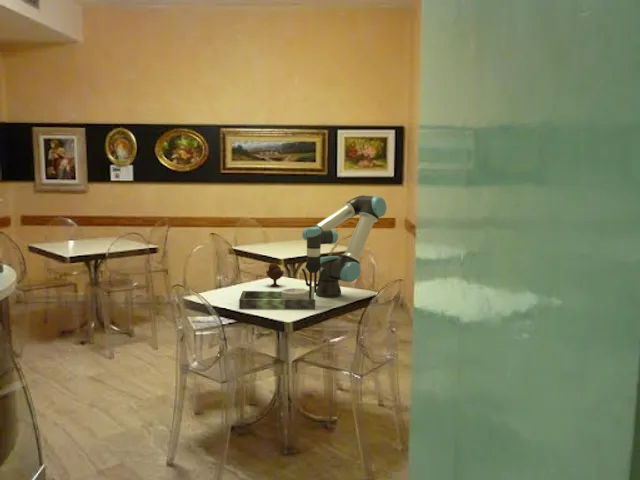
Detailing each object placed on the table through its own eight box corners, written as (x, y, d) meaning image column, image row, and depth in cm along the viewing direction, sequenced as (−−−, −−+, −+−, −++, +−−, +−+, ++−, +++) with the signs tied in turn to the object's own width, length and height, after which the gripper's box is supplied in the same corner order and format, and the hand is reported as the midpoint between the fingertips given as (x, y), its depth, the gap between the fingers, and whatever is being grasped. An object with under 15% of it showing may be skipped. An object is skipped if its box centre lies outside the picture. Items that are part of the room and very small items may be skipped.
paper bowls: (290, 300, 325) (291, 286, 324) (314, 303, 317) (314, 289, 316) (275, 305, 312) (275, 291, 311) (299, 309, 304) (299, 294, 303)
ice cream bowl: (283, 288, 358) (283, 264, 356) (265, 287, 358) (265, 263, 356) (284, 284, 369) (284, 261, 367) (266, 284, 369) (267, 261, 367)
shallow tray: (313, 300, 326) (313, 291, 325) (315, 309, 304) (315, 300, 304) (242, 299, 324) (242, 290, 323) (239, 308, 302) (239, 299, 302)
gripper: (301, 256, 308) (300, 299, 310) (325, 257, 308) (324, 300, 311) (301, 254, 315) (300, 296, 318) (324, 255, 316) (324, 297, 319)
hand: (312, 298), depth 314 cm, fingers closed
